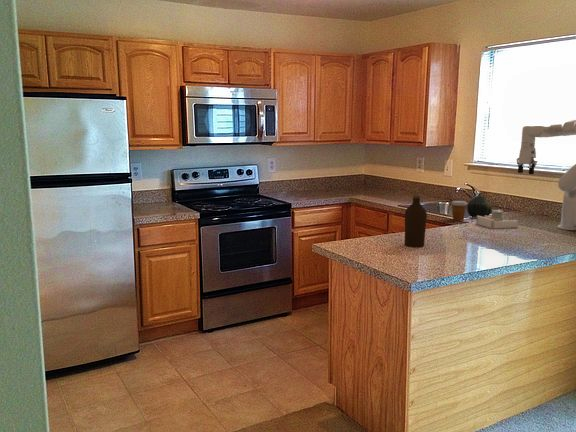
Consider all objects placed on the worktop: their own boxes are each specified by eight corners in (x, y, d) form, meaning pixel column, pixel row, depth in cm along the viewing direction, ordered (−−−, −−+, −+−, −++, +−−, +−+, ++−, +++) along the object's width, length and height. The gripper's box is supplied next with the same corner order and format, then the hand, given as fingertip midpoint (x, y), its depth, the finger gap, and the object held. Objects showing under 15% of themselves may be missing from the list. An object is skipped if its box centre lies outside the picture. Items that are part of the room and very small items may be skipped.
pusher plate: (498, 227, 300) (499, 218, 300) (496, 227, 300) (497, 218, 299) (485, 223, 312) (486, 215, 311) (483, 223, 312) (484, 215, 311)
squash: (480, 211, 325) (489, 193, 329) (460, 209, 337) (469, 191, 341) (489, 224, 332) (498, 206, 337) (469, 222, 344) (478, 204, 349)
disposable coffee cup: (449, 220, 323) (450, 201, 321) (451, 218, 332) (452, 200, 330) (464, 221, 319) (465, 202, 317) (467, 219, 327) (468, 201, 325)
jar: (504, 226, 305) (505, 211, 303) (495, 226, 303) (496, 211, 302) (497, 224, 311) (498, 209, 309) (488, 224, 309) (489, 210, 308)
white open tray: (517, 227, 302) (517, 218, 301) (492, 228, 298) (492, 220, 297) (500, 222, 316) (501, 214, 316) (476, 223, 312) (476, 215, 312)
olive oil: (418, 248, 246) (421, 197, 242) (399, 245, 253) (401, 195, 249) (429, 245, 253) (431, 195, 249) (410, 241, 260) (412, 193, 256)
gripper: (543, 145, 305) (540, 174, 308) (523, 145, 322) (521, 172, 325) (532, 146, 303) (530, 174, 306) (513, 145, 320) (511, 172, 323)
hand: (525, 173), depth 315 cm, fingers open, 9 cm apart
